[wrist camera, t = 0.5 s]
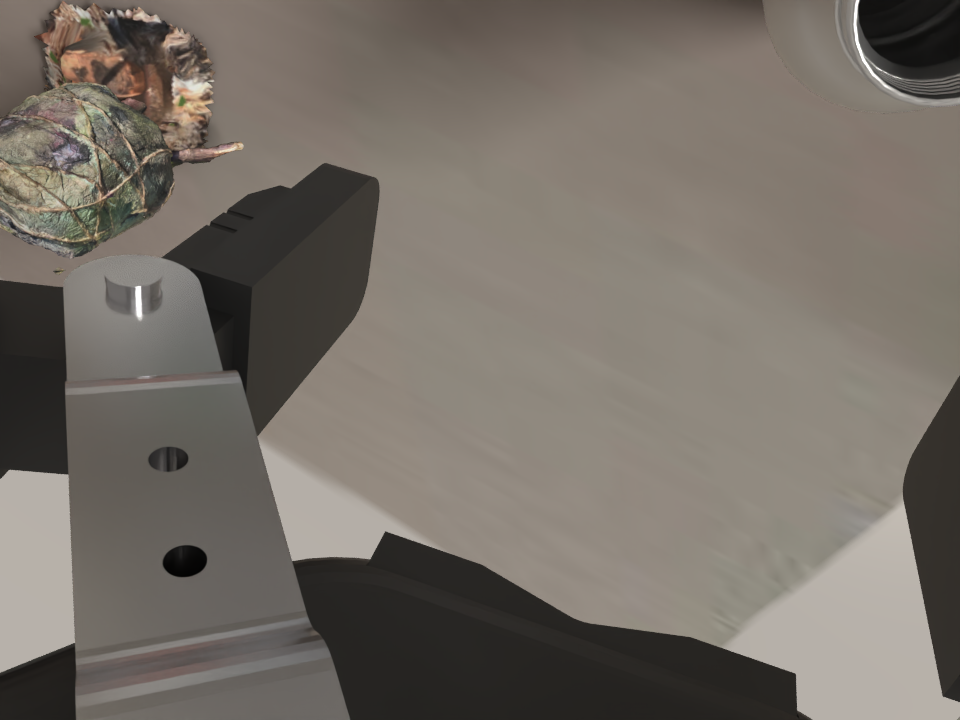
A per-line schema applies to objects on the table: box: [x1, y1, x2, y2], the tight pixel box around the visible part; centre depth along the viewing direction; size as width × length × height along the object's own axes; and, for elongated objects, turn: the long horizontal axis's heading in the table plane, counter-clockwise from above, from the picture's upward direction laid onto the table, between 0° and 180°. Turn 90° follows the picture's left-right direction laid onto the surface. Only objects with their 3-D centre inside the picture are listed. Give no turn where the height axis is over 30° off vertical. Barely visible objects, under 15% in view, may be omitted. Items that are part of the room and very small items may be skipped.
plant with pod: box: [0, 1, 244, 275], centre depth 35 cm, size 8×11×20 cm
